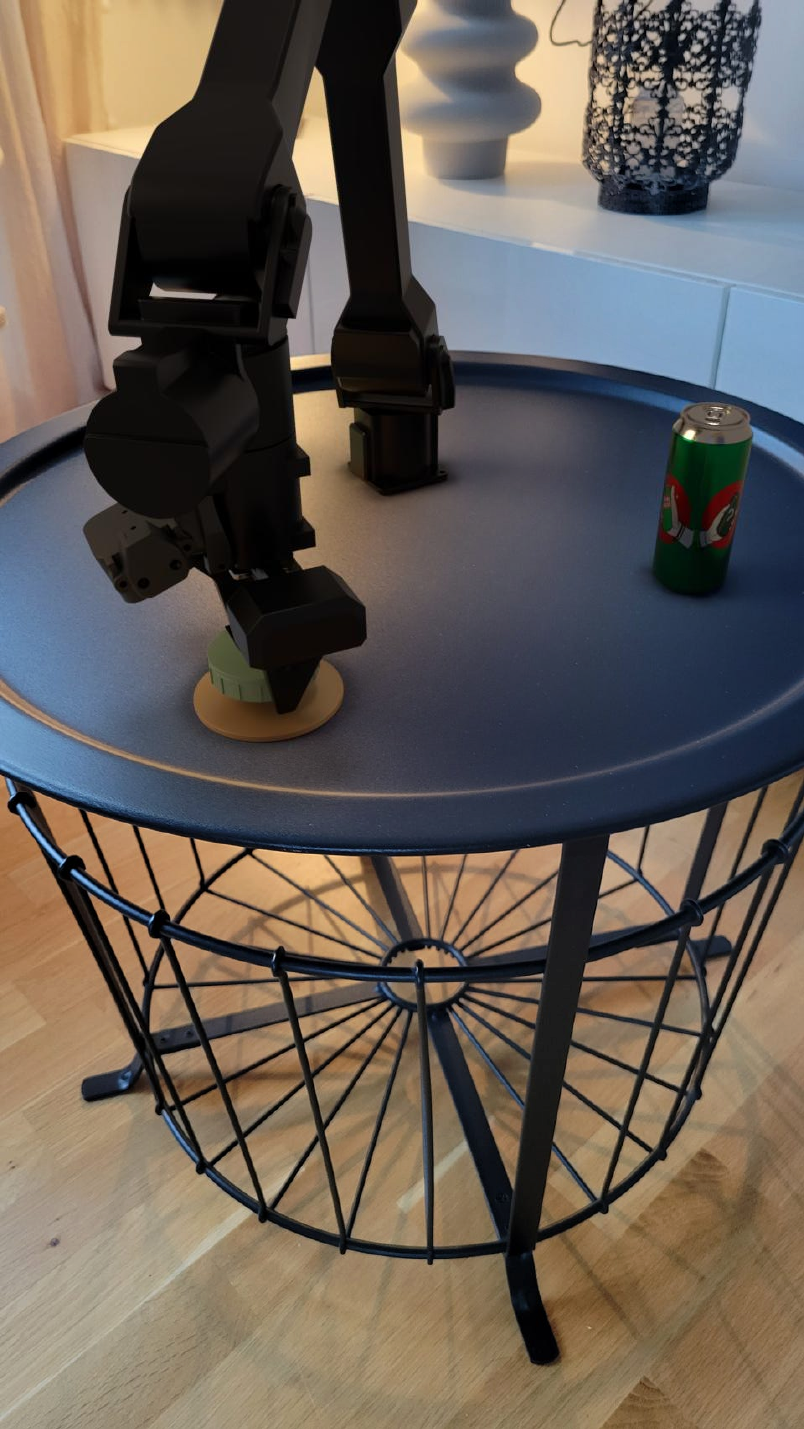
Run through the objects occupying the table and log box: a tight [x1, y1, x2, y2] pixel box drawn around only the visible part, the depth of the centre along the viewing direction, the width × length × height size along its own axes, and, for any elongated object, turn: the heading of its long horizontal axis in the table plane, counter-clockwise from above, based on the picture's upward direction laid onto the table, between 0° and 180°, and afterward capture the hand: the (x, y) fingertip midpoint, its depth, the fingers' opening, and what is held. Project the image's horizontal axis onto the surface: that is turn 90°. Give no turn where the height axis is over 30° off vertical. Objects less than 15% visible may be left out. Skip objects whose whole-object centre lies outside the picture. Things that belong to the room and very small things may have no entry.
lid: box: [206, 629, 320, 702], centre depth 62 cm, size 6×6×2 cm
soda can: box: [651, 401, 754, 595], centre depth 70 cm, size 5×5×12 cm
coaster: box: [193, 658, 345, 743], centre depth 64 cm, size 9×9×1 cm
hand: (267, 681), depth 63 cm, fingers closed on lid, 6 cm apart
